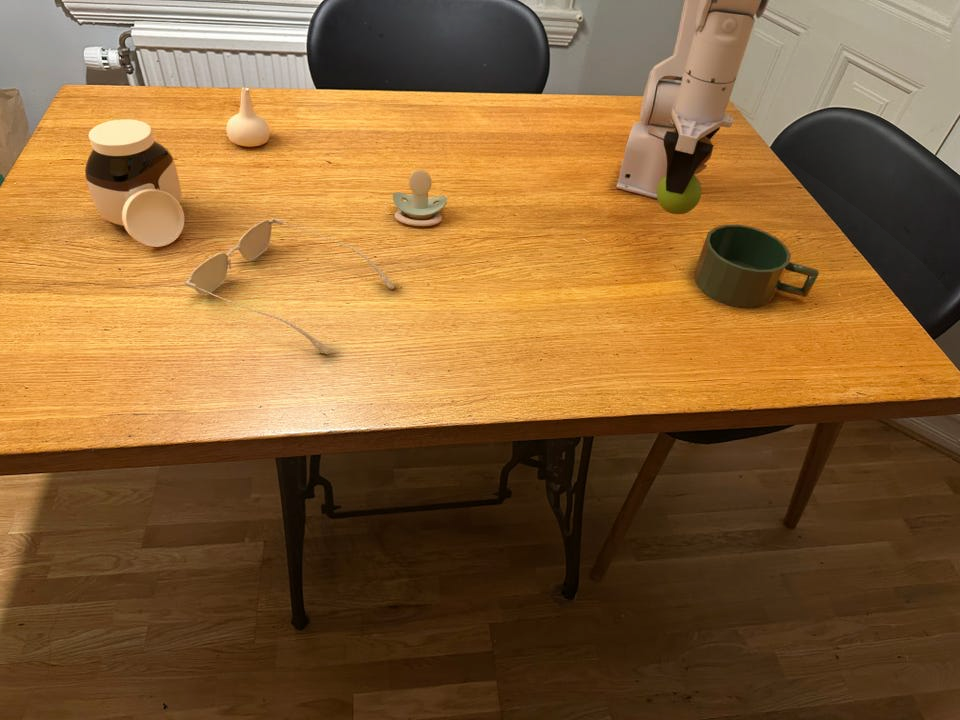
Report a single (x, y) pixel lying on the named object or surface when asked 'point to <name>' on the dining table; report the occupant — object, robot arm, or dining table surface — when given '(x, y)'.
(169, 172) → the spread jar
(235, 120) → the garlic bulb
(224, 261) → the eyeglasses
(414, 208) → the pacifier
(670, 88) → the robot arm
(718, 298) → the green mug
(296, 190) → the dining table surface
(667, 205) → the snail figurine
